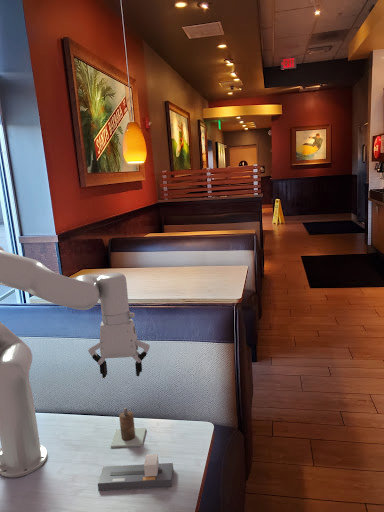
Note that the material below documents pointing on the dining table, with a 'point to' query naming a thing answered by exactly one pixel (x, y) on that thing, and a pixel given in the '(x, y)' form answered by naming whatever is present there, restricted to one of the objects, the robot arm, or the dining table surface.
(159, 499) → the dining table surface
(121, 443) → the mat
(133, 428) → the tool handle
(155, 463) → the switch tab
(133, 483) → the switch board
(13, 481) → the dining table surface
